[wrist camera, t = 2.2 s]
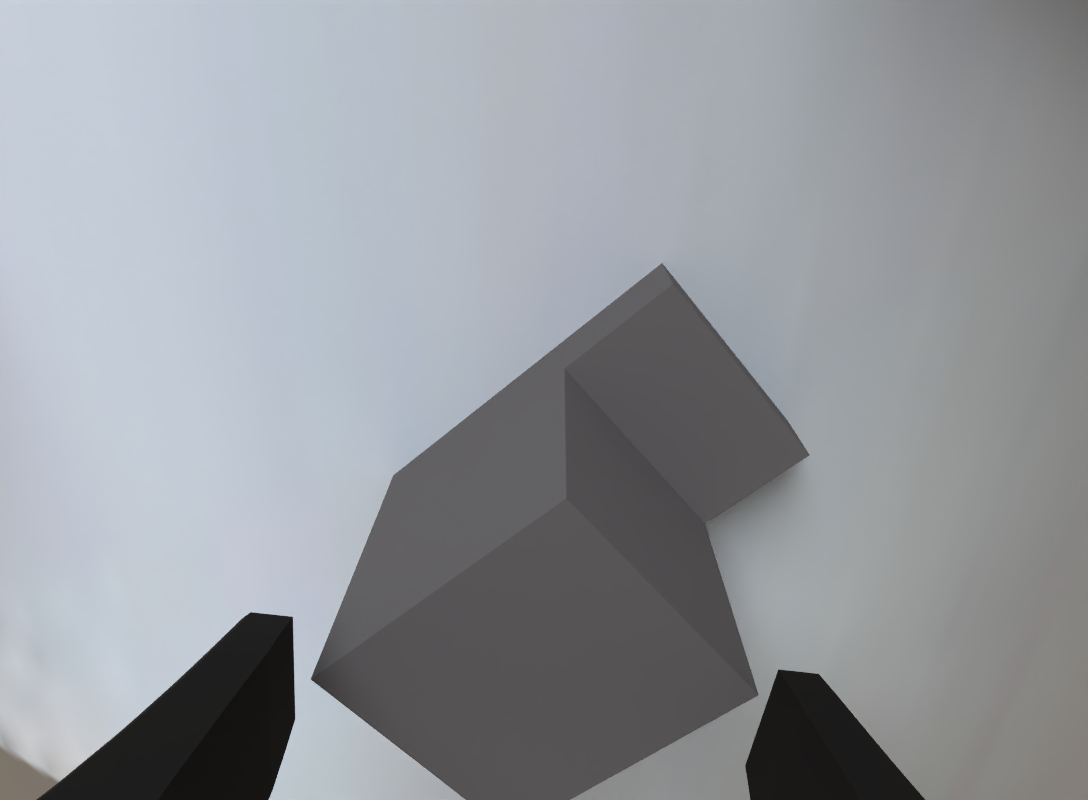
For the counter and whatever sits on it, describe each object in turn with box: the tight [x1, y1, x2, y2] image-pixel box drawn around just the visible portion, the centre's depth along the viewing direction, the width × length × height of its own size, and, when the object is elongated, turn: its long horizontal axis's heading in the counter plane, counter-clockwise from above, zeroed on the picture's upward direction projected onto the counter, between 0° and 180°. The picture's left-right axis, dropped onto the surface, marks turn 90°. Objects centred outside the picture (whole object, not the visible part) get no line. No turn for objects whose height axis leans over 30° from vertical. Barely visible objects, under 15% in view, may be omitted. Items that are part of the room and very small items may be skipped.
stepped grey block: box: [311, 264, 809, 800], centre depth 13 cm, size 4×8×6 cm, turn 131°
